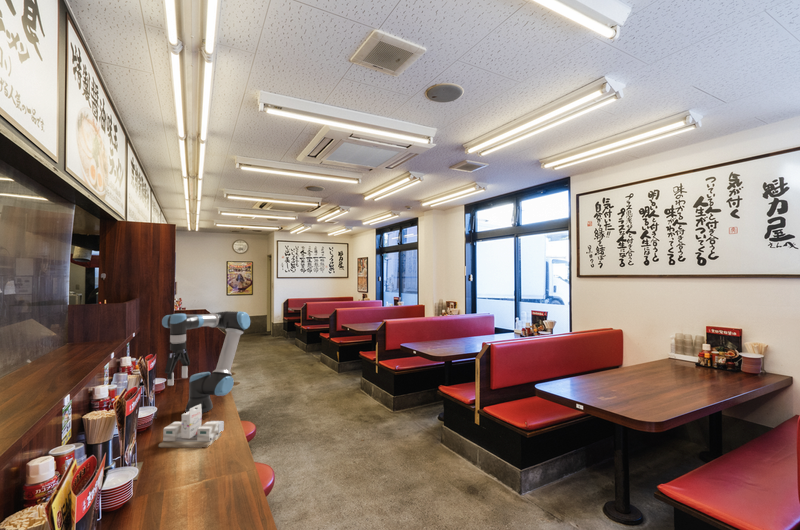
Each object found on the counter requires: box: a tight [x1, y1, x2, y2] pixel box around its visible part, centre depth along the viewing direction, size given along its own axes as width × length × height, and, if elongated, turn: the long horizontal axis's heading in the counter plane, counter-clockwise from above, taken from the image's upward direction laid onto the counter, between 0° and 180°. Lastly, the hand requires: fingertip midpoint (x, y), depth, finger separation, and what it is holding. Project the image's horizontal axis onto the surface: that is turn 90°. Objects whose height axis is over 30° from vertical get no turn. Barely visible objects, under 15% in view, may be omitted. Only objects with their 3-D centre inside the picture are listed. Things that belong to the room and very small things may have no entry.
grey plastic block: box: [210, 420, 225, 433], centre depth 198 cm, size 5×7×5 cm
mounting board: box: [158, 421, 223, 448], centre depth 186 cm, size 14×24×8 cm, turn 90°
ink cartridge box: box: [181, 404, 203, 439], centre depth 187 cm, size 9×5×15 cm, turn 169°
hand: (177, 381), depth 199 cm, fingers open, 13 cm apart
